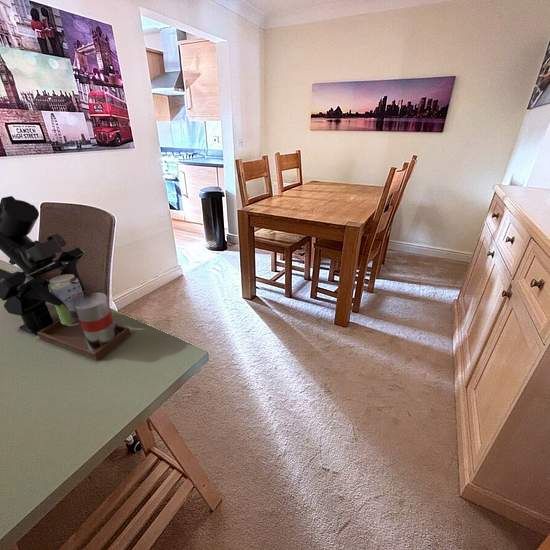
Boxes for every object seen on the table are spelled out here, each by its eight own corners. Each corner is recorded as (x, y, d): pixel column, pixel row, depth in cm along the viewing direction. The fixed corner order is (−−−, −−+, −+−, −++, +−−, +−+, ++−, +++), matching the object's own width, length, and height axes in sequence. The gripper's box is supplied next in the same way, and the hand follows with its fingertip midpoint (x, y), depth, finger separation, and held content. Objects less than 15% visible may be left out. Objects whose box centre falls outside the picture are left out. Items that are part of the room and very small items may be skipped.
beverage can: (86, 328, 72) (79, 281, 67) (50, 329, 70) (40, 281, 66) (94, 315, 77) (88, 271, 73) (61, 316, 75) (53, 272, 71)
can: (81, 346, 72) (65, 304, 66) (104, 329, 78) (92, 290, 72) (102, 353, 70) (88, 311, 64) (124, 336, 76) (113, 296, 70)
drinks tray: (39, 339, 75) (36, 332, 74) (77, 316, 83) (74, 310, 82) (97, 360, 69) (94, 353, 68) (131, 334, 77) (129, 327, 76)
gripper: (-19, 242, 56) (47, 302, 59) (67, 214, 72) (116, 263, 75) (-31, 272, 62) (30, 326, 64) (52, 240, 77) (97, 285, 80)
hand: (72, 297), depth 71 cm, fingers closed on beverage can, 6 cm apart
